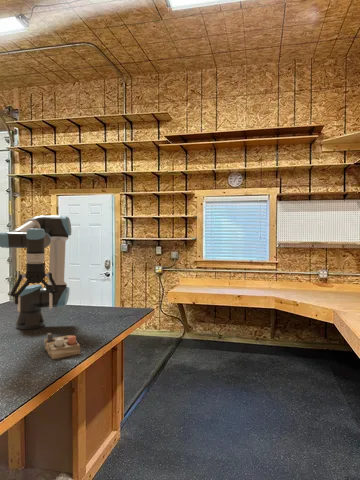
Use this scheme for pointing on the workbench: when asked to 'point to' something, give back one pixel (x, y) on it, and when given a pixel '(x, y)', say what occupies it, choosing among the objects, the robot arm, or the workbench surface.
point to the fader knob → (49, 337)
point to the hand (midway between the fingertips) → (35, 309)
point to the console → (61, 348)
